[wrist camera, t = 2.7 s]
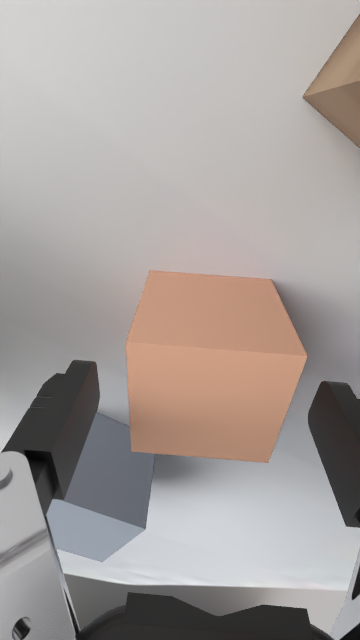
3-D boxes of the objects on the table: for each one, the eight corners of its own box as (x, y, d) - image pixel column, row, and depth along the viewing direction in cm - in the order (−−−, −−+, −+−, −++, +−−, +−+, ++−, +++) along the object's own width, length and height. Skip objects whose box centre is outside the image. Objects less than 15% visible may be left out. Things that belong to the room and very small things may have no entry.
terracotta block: (150, 269, 13) (125, 342, 8) (270, 278, 12) (307, 356, 8) (149, 361, 15) (131, 451, 11) (248, 369, 15) (268, 462, 11)
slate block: (82, 404, 17) (44, 494, 13) (157, 437, 18) (145, 529, 14) (52, 447, 20) (13, 535, 15) (121, 474, 21) (102, 562, 17)
